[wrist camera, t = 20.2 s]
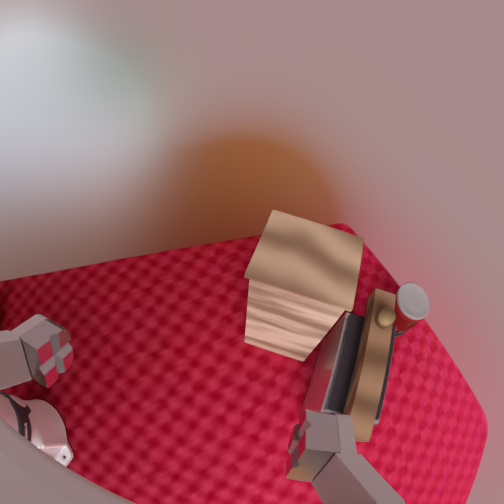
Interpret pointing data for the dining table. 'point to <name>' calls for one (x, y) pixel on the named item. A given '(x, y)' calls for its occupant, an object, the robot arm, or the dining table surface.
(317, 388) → the grey box
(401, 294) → the canned food
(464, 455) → the dining table surface
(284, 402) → the dining table surface
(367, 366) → the bar
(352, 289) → the shelf block
